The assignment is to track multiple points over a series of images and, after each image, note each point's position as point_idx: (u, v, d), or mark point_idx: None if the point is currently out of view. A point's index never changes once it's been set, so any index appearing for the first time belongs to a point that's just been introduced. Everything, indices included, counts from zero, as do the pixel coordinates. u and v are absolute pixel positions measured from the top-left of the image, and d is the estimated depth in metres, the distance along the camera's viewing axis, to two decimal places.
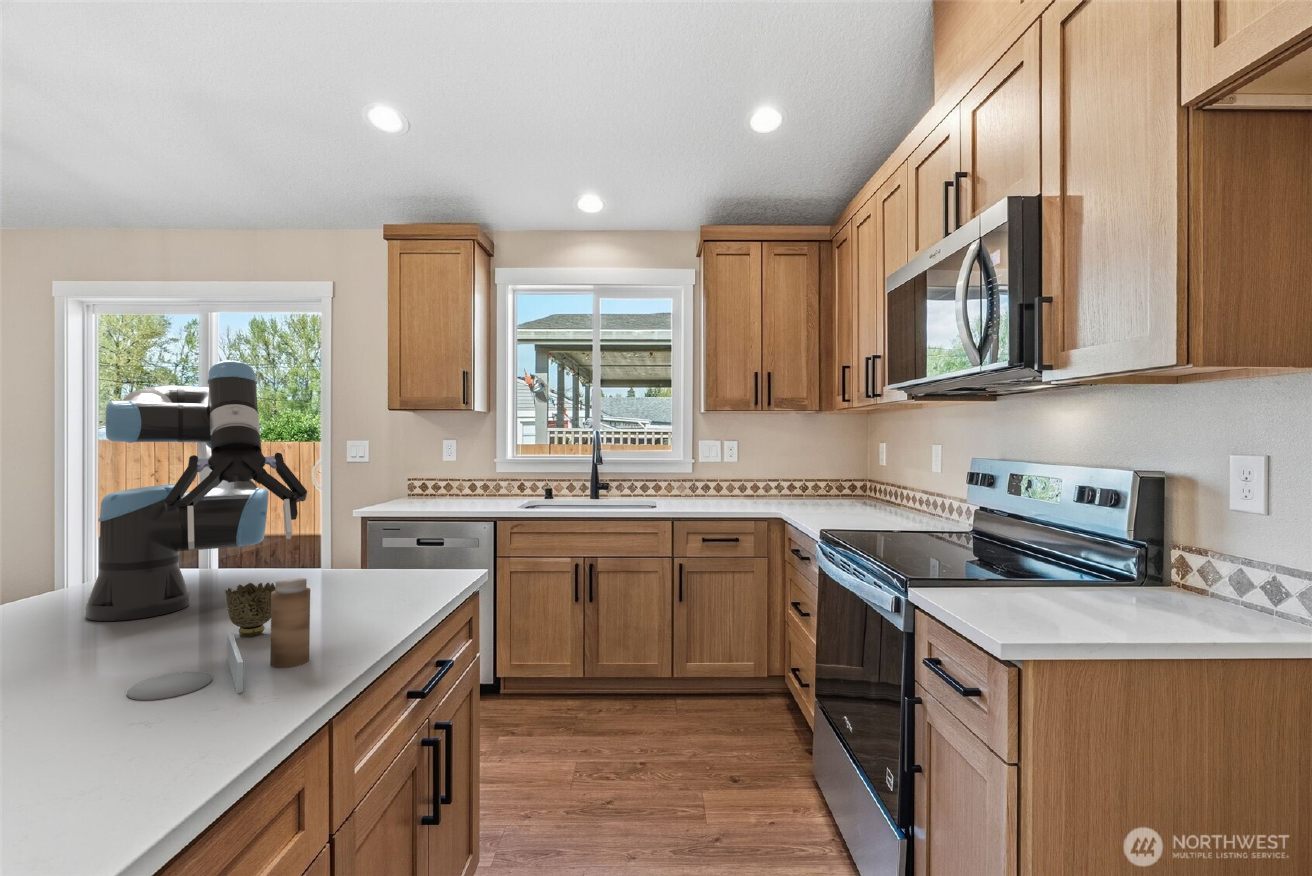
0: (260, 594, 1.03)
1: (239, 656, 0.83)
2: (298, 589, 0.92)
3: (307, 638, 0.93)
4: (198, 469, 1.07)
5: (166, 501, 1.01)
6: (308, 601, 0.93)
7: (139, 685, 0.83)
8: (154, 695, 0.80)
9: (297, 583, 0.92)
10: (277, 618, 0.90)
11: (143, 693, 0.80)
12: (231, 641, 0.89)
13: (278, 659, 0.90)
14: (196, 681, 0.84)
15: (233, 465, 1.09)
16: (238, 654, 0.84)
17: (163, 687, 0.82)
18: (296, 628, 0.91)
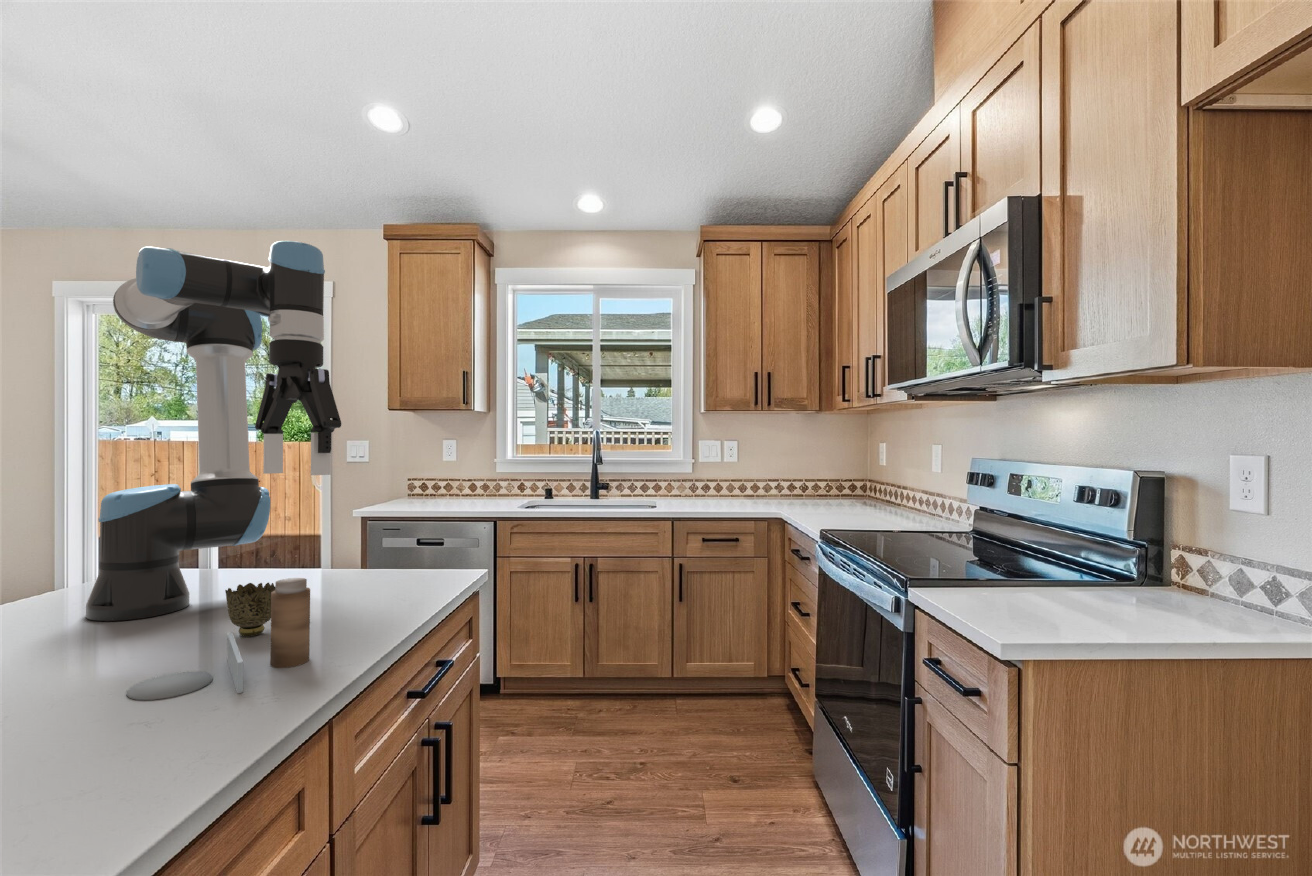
0: (260, 594, 1.03)
1: (239, 656, 0.83)
2: (298, 589, 0.92)
3: (307, 638, 0.93)
4: (276, 387, 1.03)
5: (255, 427, 1.04)
6: (308, 601, 0.93)
7: (139, 685, 0.83)
8: (154, 695, 0.80)
9: (297, 583, 0.92)
10: (277, 618, 0.90)
11: (143, 693, 0.80)
12: (231, 641, 0.89)
13: (278, 659, 0.90)
14: (196, 681, 0.84)
15: (287, 385, 0.99)
16: (238, 654, 0.84)
17: (163, 687, 0.82)
18: (296, 628, 0.91)
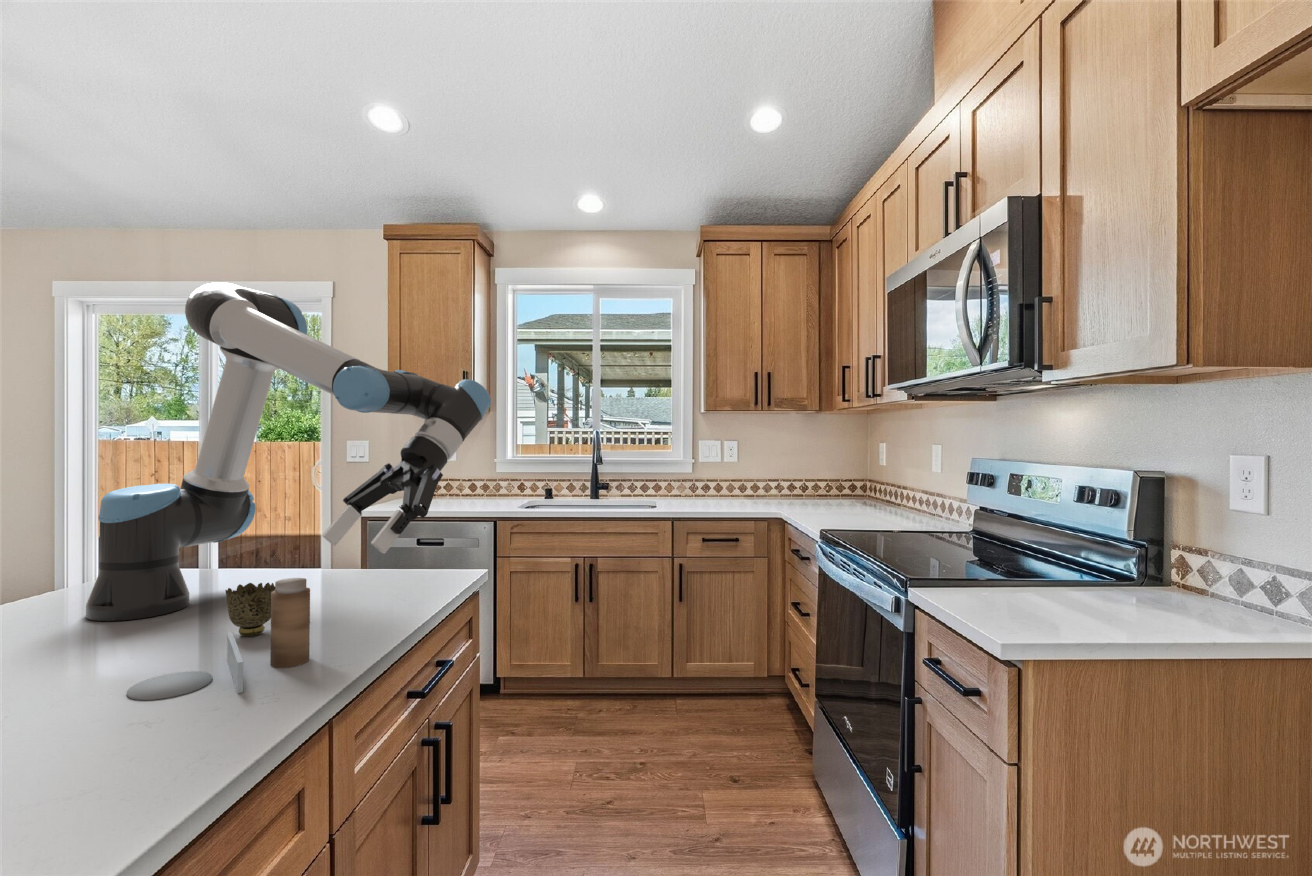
0: (260, 594, 1.03)
1: (239, 656, 0.83)
2: (298, 589, 0.92)
3: (306, 638, 0.93)
4: None
5: (344, 499, 1.09)
6: (308, 601, 0.93)
7: (139, 685, 0.83)
8: (154, 695, 0.80)
9: (297, 583, 0.92)
10: (277, 618, 0.90)
11: (143, 693, 0.80)
12: (231, 641, 0.89)
13: (278, 659, 0.90)
14: (196, 681, 0.84)
15: (400, 473, 1.08)
16: (238, 654, 0.84)
17: (163, 687, 0.82)
18: (296, 628, 0.91)
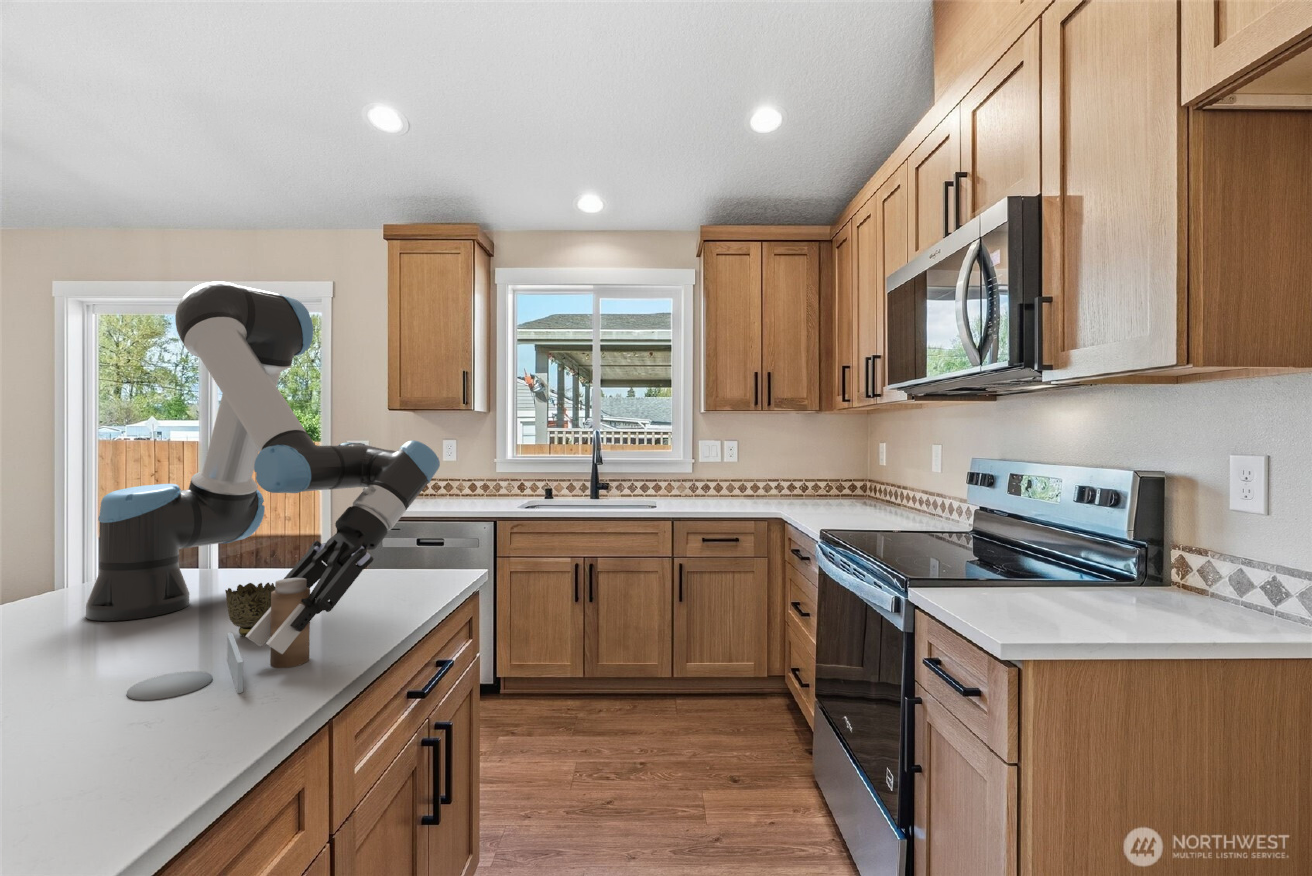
0: (260, 594, 1.03)
1: (239, 656, 0.83)
2: (298, 589, 0.92)
3: (307, 638, 0.93)
4: None
5: (274, 590, 0.96)
6: None
7: (139, 685, 0.83)
8: (154, 695, 0.80)
9: (297, 583, 0.92)
10: (277, 617, 0.90)
11: (143, 693, 0.80)
12: (231, 641, 0.89)
13: (278, 658, 0.90)
14: (196, 681, 0.84)
15: (335, 547, 0.99)
16: (238, 654, 0.84)
17: (163, 687, 0.82)
18: None
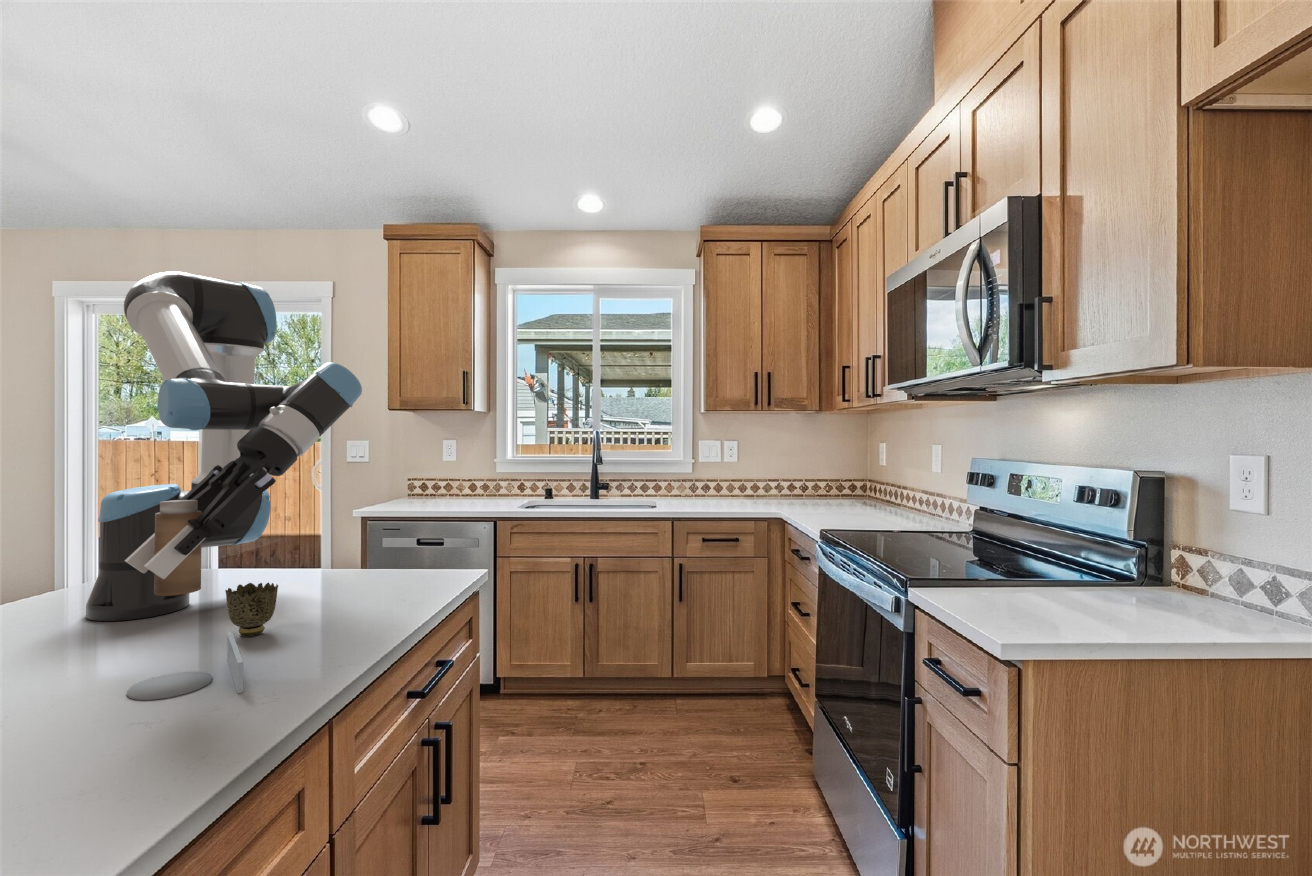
0: (260, 594, 1.03)
1: (239, 656, 0.83)
2: (186, 510, 0.83)
3: (196, 565, 0.84)
4: None
5: None
6: None
7: (139, 685, 0.83)
8: (154, 695, 0.80)
9: (184, 503, 0.83)
10: (161, 540, 0.81)
11: (143, 693, 0.80)
12: (231, 641, 0.89)
13: (162, 586, 0.81)
14: (196, 681, 0.84)
15: None
16: (238, 654, 0.84)
17: (163, 687, 0.82)
18: None
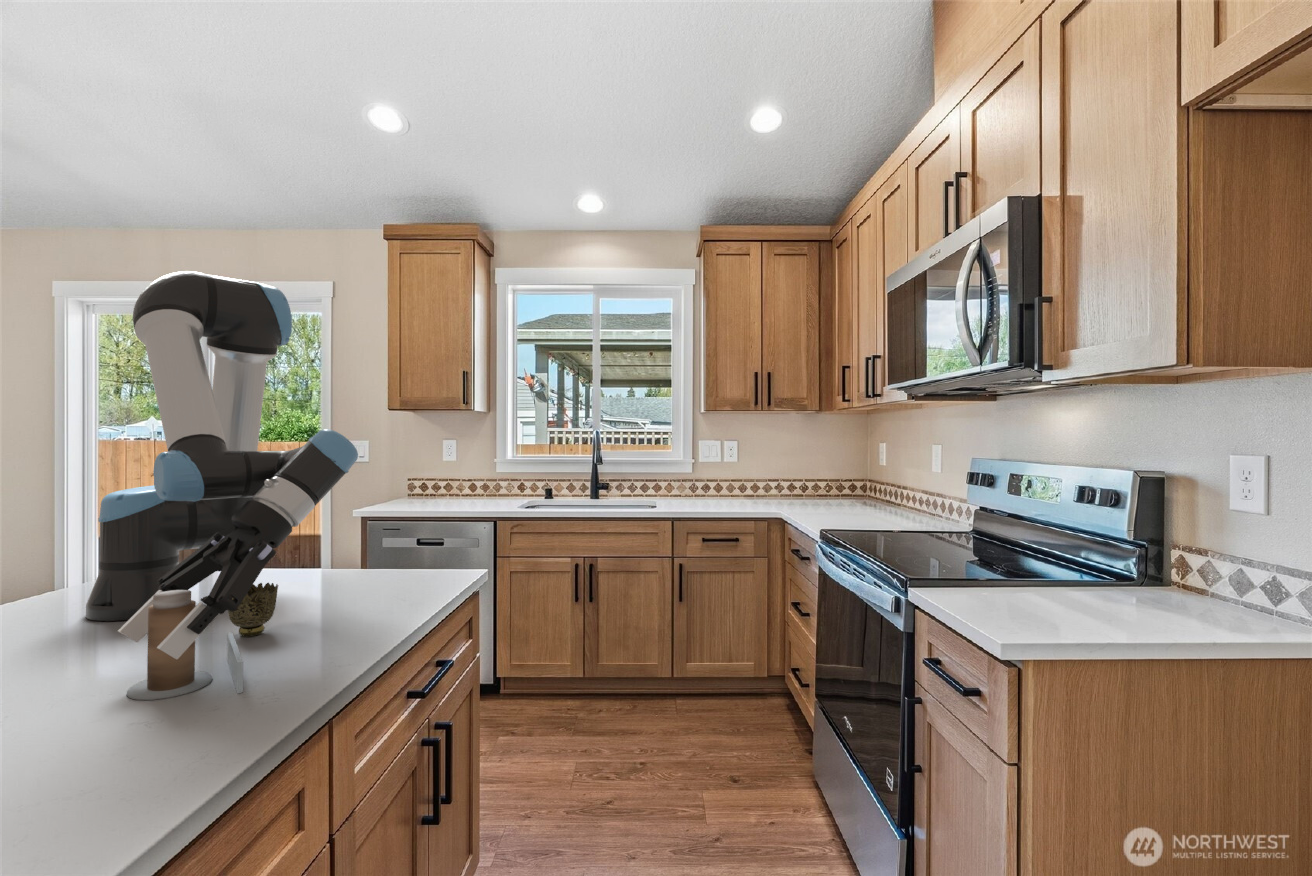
0: (260, 594, 1.03)
1: (239, 656, 0.83)
2: (179, 603, 0.82)
3: (190, 658, 0.83)
4: None
5: (158, 580, 0.89)
6: None
7: (139, 685, 0.83)
8: (154, 695, 0.80)
9: (178, 597, 0.82)
10: (154, 635, 0.81)
11: (143, 693, 0.80)
12: (231, 641, 0.89)
13: (155, 681, 0.81)
14: (196, 681, 0.84)
15: (228, 547, 0.89)
16: (238, 654, 0.84)
17: None
18: None
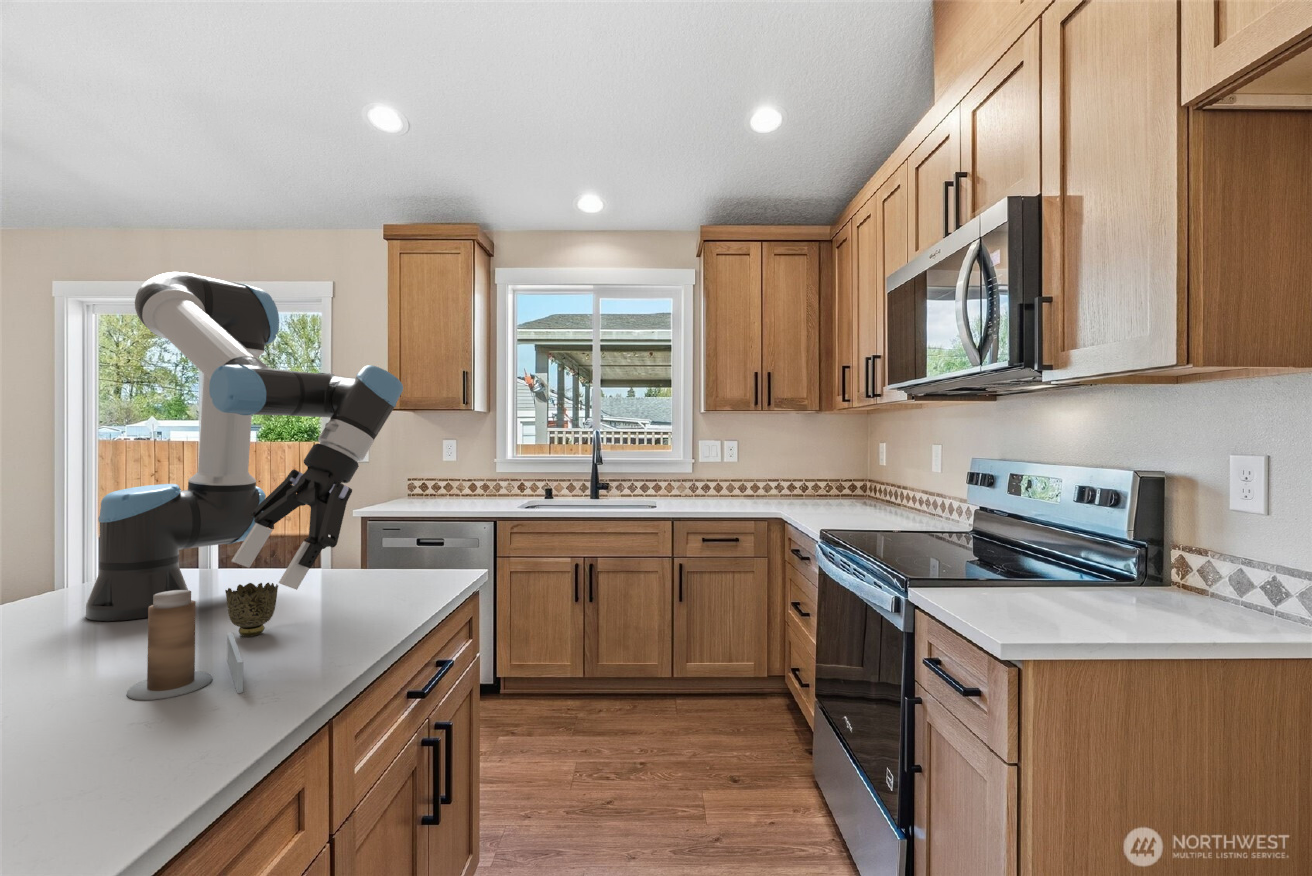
0: (260, 594, 1.03)
1: (239, 656, 0.83)
2: (179, 603, 0.82)
3: (190, 658, 0.83)
4: (294, 484, 1.02)
5: (251, 513, 1.01)
6: (192, 616, 0.84)
7: (139, 685, 0.83)
8: (154, 695, 0.80)
9: (178, 596, 0.82)
10: (153, 635, 0.81)
11: (143, 693, 0.80)
12: (231, 641, 0.89)
13: (155, 681, 0.81)
14: (196, 681, 0.84)
15: (306, 488, 0.99)
16: (238, 654, 0.84)
17: None
18: (175, 647, 0.82)
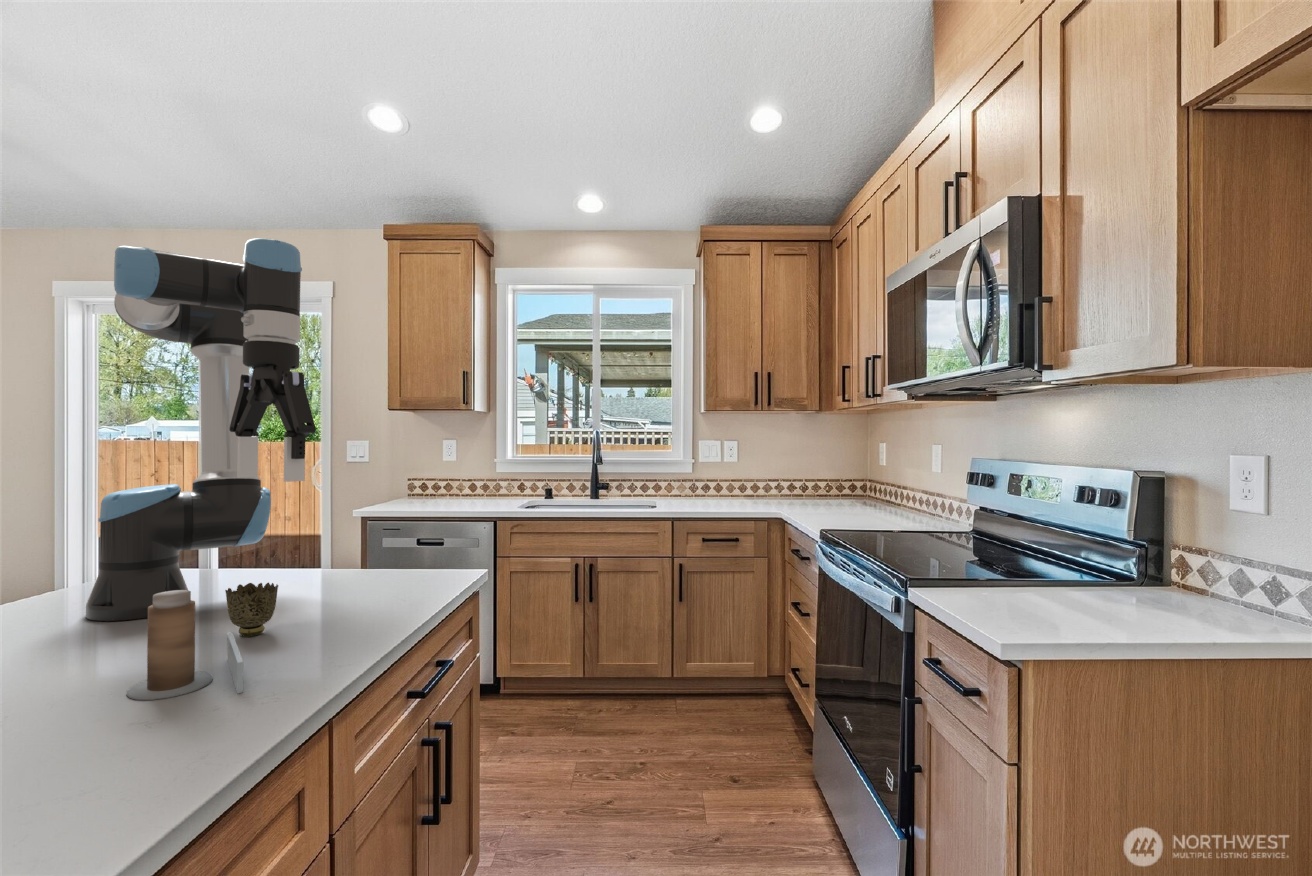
0: (260, 594, 1.03)
1: (239, 656, 0.83)
2: (178, 603, 0.82)
3: (189, 658, 0.83)
4: None
5: (230, 429, 1.01)
6: (191, 616, 0.84)
7: (139, 685, 0.83)
8: (154, 695, 0.80)
9: (177, 596, 0.82)
10: (153, 635, 0.81)
11: (143, 693, 0.80)
12: (231, 641, 0.89)
13: (155, 681, 0.81)
14: (196, 681, 0.84)
15: (261, 387, 0.96)
16: (238, 654, 0.84)
17: None
18: (175, 647, 0.82)
